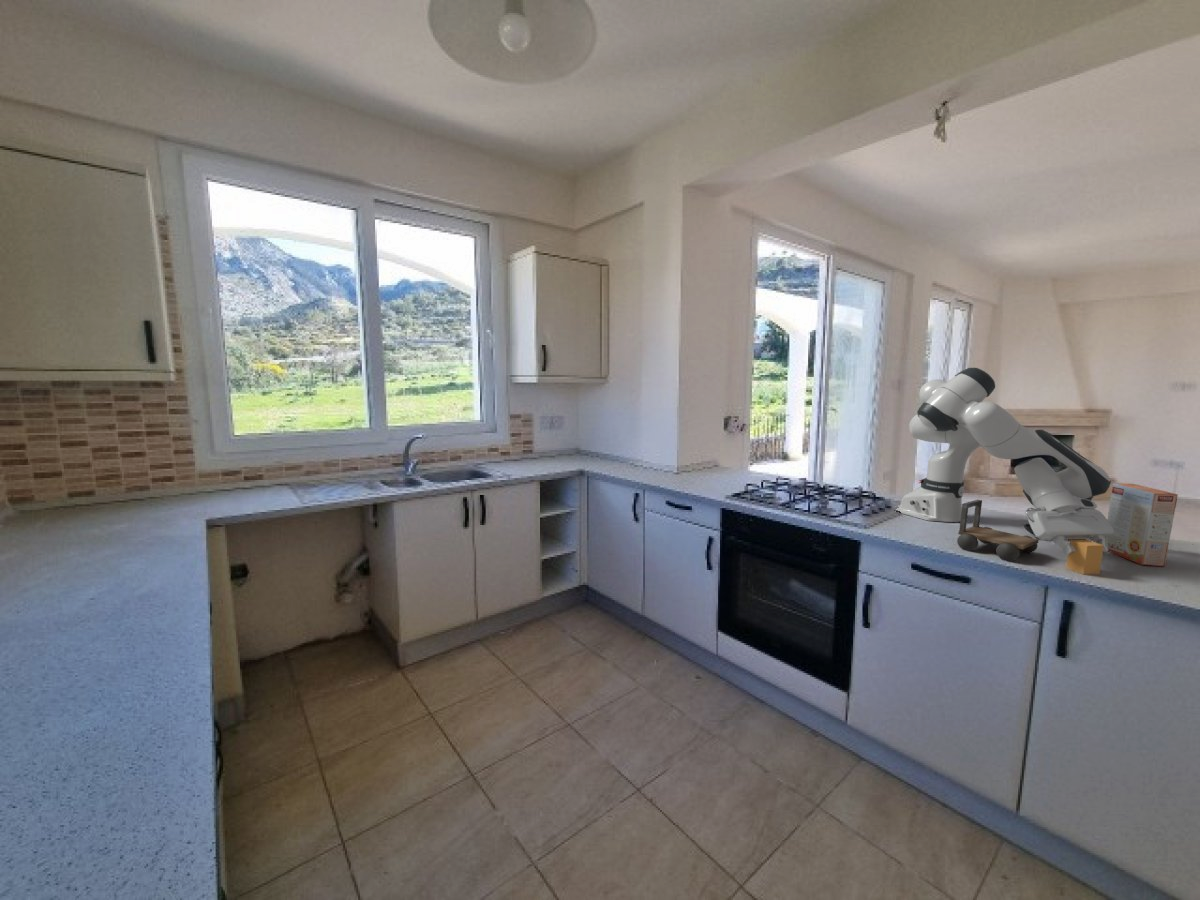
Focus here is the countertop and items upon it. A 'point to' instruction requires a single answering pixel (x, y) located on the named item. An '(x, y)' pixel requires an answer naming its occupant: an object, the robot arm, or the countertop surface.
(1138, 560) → the cracker box
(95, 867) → the countertop surface
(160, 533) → the countertop surface
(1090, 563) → the block
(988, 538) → the trolley
